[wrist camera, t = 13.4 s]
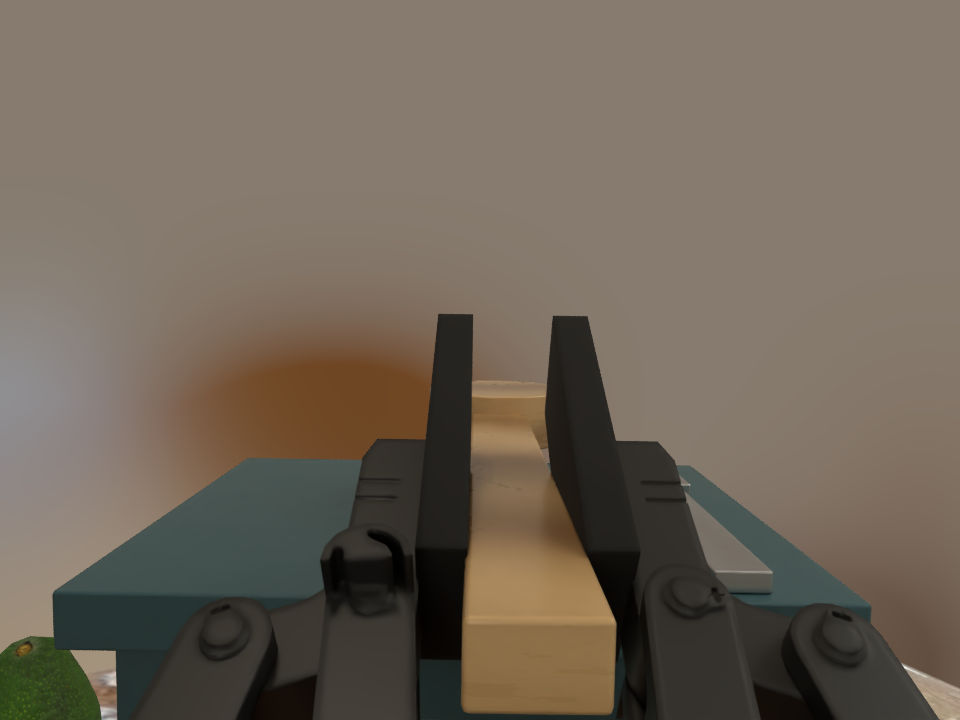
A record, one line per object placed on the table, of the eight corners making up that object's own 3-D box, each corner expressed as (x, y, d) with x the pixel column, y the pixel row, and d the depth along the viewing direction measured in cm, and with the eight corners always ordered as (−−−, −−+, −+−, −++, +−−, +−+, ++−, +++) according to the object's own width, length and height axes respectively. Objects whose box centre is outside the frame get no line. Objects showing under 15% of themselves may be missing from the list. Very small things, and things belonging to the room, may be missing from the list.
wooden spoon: (744, 721, 8) (751, 570, 8) (331, 715, 8) (331, 564, 8) (556, 427, 28) (557, 381, 28) (433, 425, 28) (434, 379, 28)
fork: (793, 595, 18) (794, 572, 18) (693, 593, 18) (694, 570, 18) (655, 467, 32) (655, 453, 32) (598, 466, 32) (599, 452, 32)
